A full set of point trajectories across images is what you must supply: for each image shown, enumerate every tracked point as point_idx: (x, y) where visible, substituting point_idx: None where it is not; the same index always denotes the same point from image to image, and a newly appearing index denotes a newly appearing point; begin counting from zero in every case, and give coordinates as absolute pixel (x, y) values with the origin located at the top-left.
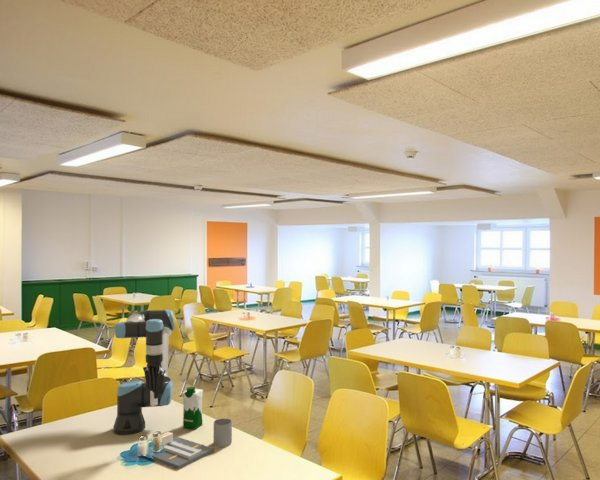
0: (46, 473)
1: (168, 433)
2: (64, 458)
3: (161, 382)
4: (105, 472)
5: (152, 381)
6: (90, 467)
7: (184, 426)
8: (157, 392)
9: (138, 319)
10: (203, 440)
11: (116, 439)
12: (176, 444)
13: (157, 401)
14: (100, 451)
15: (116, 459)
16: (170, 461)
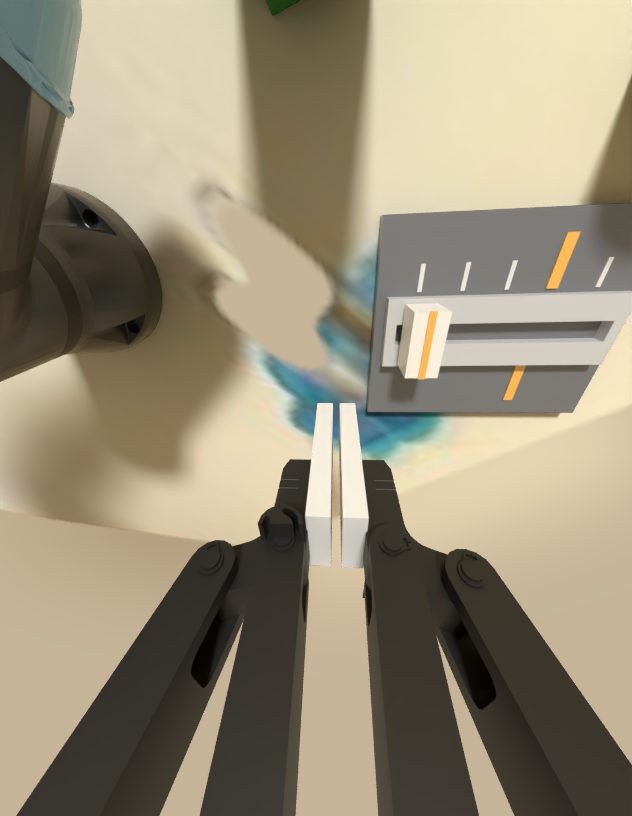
0: None
1: (433, 331)
2: (215, 502)
3: (626, 806)
4: None
5: (295, 758)
6: None
7: (283, 1)
8: (401, 527)
9: None
10: (539, 101)
11: (176, 374)
12: (474, 315)
13: (356, 421)
14: (238, 447)
15: None
16: (521, 407)
